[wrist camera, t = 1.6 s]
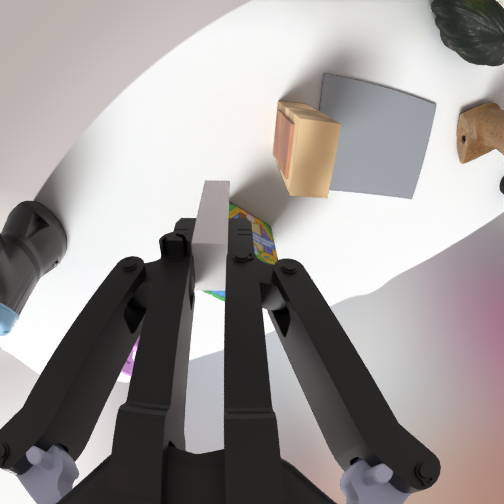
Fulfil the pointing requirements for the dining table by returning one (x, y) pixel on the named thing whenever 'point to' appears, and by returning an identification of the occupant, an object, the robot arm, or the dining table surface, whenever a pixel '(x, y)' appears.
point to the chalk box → (261, 240)
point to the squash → (472, 29)
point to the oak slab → (305, 148)
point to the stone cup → (480, 132)
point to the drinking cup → (502, 185)
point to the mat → (376, 136)
